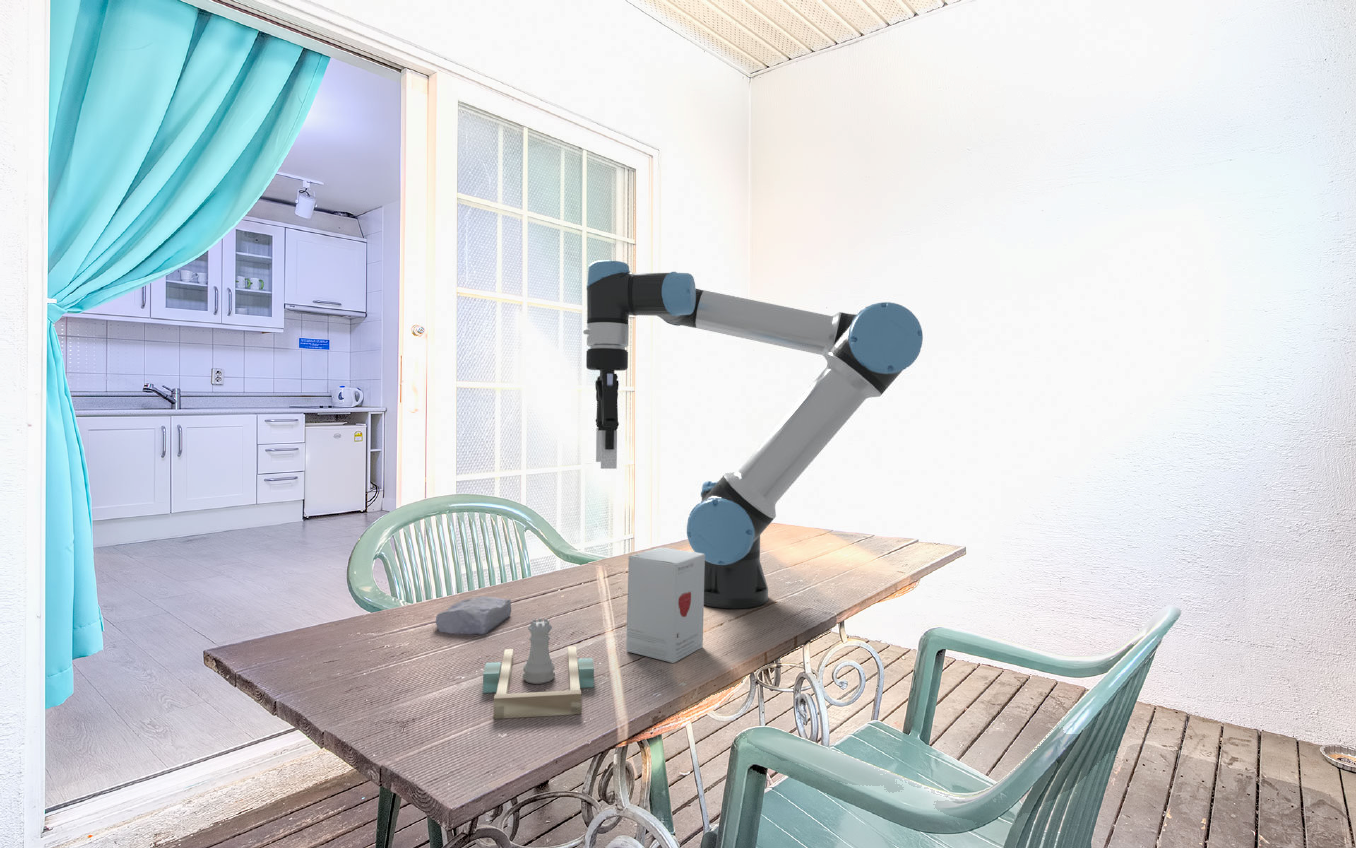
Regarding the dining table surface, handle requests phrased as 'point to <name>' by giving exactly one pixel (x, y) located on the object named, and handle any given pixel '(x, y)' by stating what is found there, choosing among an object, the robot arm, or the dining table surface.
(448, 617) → the stone block
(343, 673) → the dining table surface
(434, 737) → the dining table surface
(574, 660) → the beam track
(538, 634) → the rook chess piece
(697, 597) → the supplement box
